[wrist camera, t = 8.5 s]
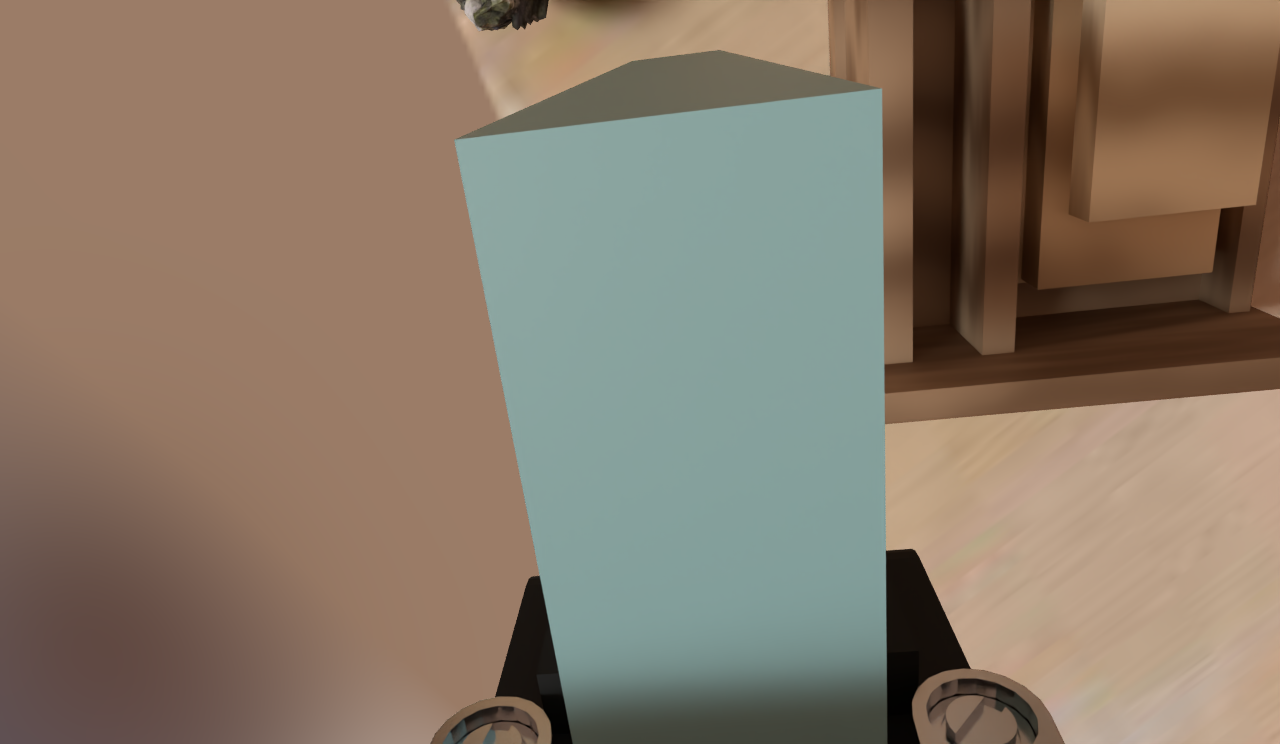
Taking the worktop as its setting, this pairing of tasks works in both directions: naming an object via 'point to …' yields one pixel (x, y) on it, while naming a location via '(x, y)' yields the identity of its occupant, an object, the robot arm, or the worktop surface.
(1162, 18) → the offcut stack
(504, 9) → the mineral specimen
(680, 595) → the teal sheet
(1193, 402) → the worktop surface
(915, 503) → the worktop surface
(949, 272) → the walnut rack
